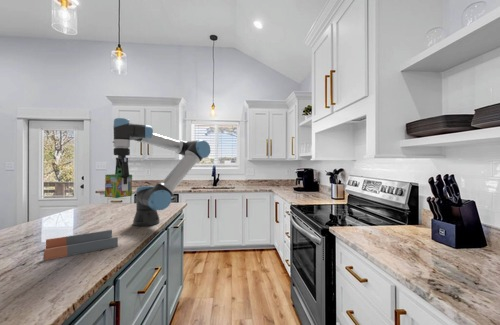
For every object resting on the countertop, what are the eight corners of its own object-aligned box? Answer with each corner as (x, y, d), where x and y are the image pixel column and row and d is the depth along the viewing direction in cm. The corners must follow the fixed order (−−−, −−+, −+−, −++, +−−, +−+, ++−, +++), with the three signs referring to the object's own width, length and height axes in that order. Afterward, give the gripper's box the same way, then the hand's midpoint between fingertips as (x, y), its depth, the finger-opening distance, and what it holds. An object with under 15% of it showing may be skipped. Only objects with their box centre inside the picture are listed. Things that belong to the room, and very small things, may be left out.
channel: (111, 237, 119) (111, 229, 119) (117, 246, 106) (117, 237, 106) (45, 248, 103) (46, 239, 103) (44, 260, 91) (44, 249, 91)
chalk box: (104, 197, 121) (104, 168, 120) (120, 194, 129) (120, 167, 129) (117, 198, 117) (117, 168, 117) (132, 195, 126) (132, 168, 126)
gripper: (108, 148, 131) (108, 188, 131) (119, 146, 113) (119, 192, 113) (123, 149, 135) (123, 187, 136) (136, 147, 118) (136, 191, 118)
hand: (121, 189), depth 124 cm, fingers closed on chalk box, 11 cm apart
